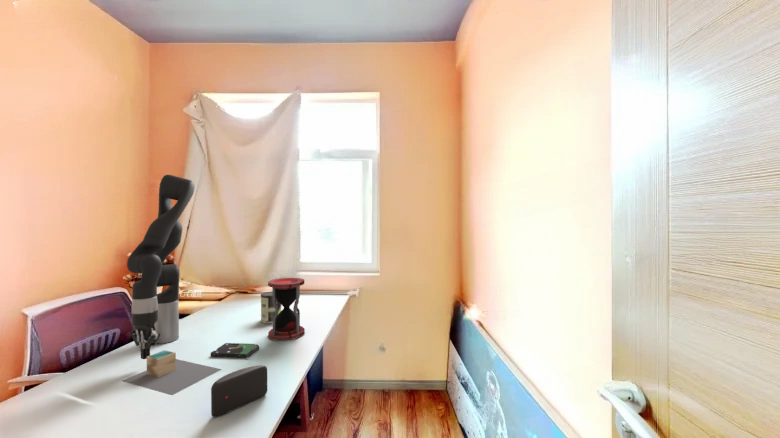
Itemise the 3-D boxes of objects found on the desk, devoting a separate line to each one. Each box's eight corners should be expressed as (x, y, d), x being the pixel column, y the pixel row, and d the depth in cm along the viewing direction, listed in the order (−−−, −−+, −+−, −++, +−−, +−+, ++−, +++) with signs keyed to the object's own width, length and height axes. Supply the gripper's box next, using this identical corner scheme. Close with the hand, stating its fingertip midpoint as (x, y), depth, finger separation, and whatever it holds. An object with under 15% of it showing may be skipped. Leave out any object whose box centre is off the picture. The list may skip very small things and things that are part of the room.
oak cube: (146, 374, 114) (146, 356, 114) (164, 366, 119) (164, 349, 119) (158, 377, 112) (158, 359, 112) (175, 369, 117) (175, 352, 117)
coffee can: (284, 317, 179) (284, 291, 179) (277, 323, 169) (277, 295, 169) (265, 317, 179) (265, 291, 179) (257, 323, 169) (257, 295, 169)
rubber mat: (121, 382, 109) (121, 380, 109) (174, 360, 126) (174, 358, 126) (172, 396, 101) (172, 395, 101) (221, 370, 117) (221, 369, 117)
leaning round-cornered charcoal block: (260, 390, 105) (260, 360, 105) (268, 395, 102) (268, 364, 102) (206, 414, 92) (205, 380, 92) (213, 420, 89) (212, 385, 89)
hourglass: (284, 343, 143) (284, 285, 142) (260, 336, 151) (260, 281, 151) (312, 332, 156) (311, 279, 156) (288, 326, 165) (288, 276, 164)
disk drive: (210, 360, 128) (247, 361, 126) (209, 353, 128) (246, 353, 126) (225, 349, 138) (259, 349, 137) (225, 342, 138) (259, 343, 137)
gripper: (121, 310, 117) (121, 359, 117) (146, 314, 112) (146, 365, 112) (143, 305, 124) (144, 351, 124) (168, 308, 119) (168, 356, 119)
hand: (145, 358), depth 118 cm, fingers closed
